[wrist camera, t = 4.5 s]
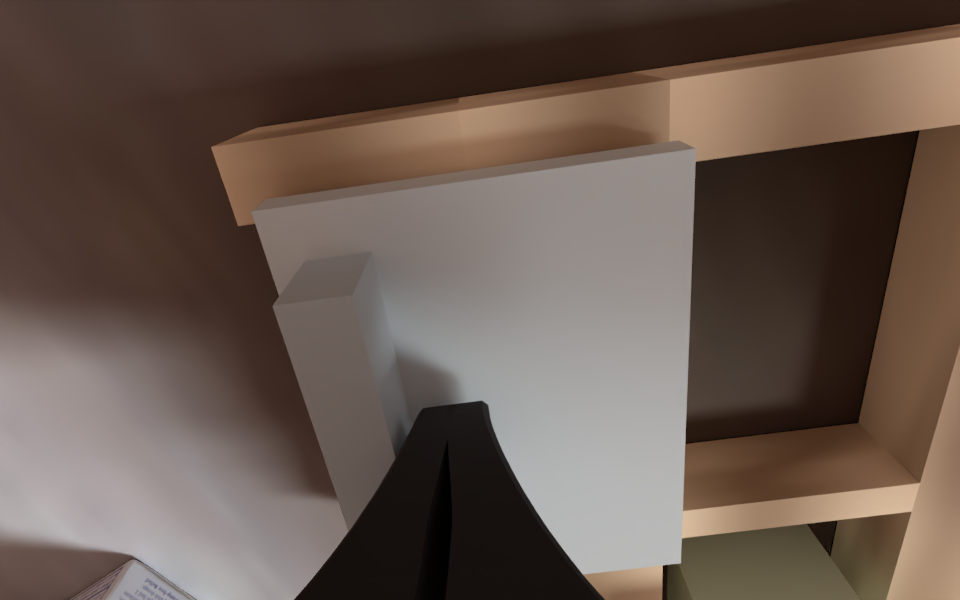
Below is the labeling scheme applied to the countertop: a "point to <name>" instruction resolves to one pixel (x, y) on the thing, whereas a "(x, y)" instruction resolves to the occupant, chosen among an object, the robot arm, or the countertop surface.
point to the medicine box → (133, 585)
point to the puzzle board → (717, 134)
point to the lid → (506, 331)
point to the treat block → (757, 567)
